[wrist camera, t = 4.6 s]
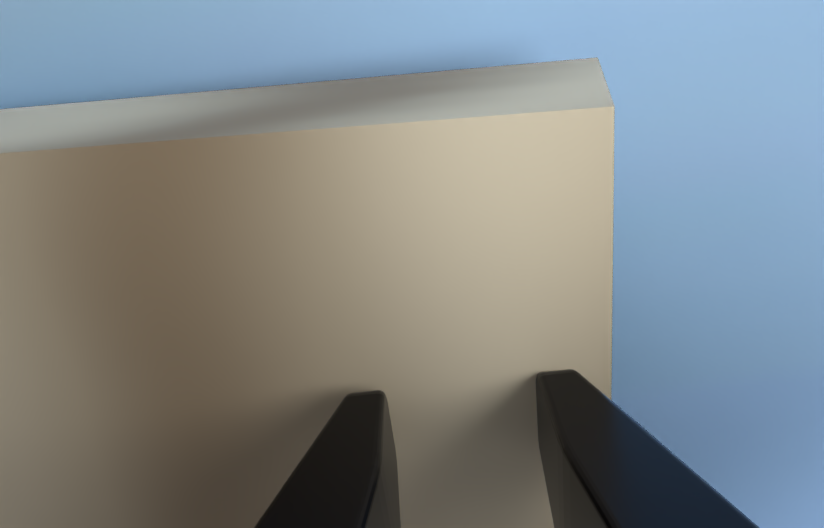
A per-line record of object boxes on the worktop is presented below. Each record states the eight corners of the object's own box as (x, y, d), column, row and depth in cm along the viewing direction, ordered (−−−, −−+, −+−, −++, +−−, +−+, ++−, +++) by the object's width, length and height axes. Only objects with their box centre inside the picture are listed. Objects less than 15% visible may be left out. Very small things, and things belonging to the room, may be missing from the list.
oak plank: (597, 57, 8) (614, 106, 6) (597, 512, 11) (608, 605, 10) (-103, 117, 9) (-205, 169, 8) (81, 509, 12) (30, 592, 11)
